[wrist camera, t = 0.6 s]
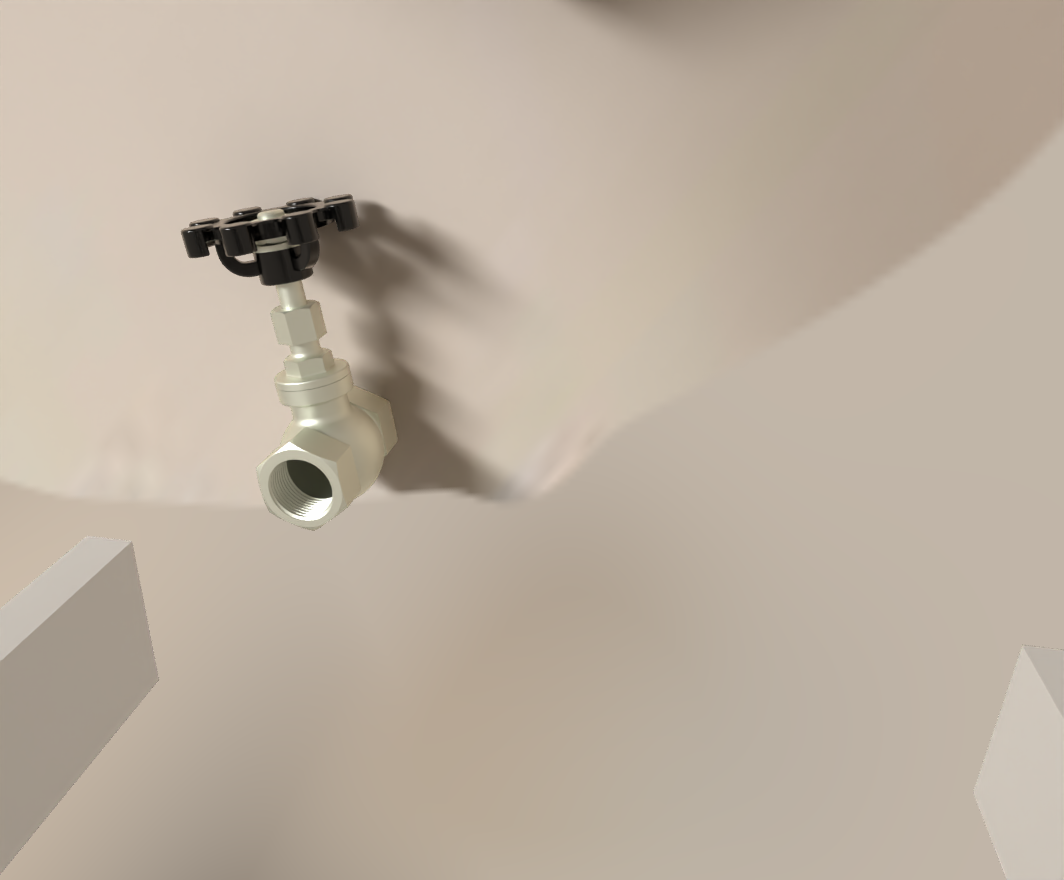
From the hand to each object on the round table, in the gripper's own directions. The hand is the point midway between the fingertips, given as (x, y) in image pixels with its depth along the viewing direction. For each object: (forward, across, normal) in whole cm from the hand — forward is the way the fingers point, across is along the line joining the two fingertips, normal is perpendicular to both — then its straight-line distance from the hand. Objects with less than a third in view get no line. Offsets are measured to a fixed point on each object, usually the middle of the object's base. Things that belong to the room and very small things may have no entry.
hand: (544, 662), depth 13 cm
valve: (+24, -12, -4) cm, 27 cm away
